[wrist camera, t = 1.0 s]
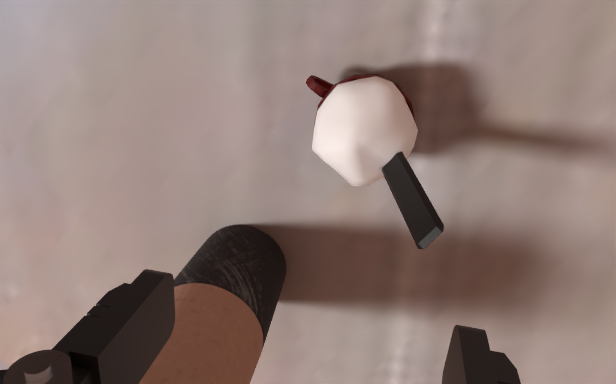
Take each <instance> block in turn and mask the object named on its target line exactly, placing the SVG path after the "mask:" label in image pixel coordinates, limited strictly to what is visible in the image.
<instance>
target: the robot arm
mask: <svg viewBox="0 0 616 384" xmlns="http://www.w3.org/2000/svg"><path fill="white" fill-rule="evenodd" d="M174 324H175V297H174V279H173V275H172V274H171V273H165V272H160V271H154V270H148V269H146V270H144V271H143V272H142V273H141V274H140V275H139V276H138V277H137V278H136V279H135V280H134V281H133V282H132V283H131V284H127V283H124V284H122V285H120V286H118V287H116V288H114V289H113V290H111V291H109V292H107V293H106V294H105V295H104V297H103V298H102V299H101V300H100V301H99V302H98V303H97V304H96V306H94V307H93V308H92V309H91V310H90V311H89V312H88V313H87V316H84V317H83V318H82V319H81V320H80V321H79V322H78V323H77V324H76V325H75V326H74V327H73V328H72V329H71V330H70V331H69V332H68V333H67V334H66V335H65V336H64V337H63V338H62V339H61V340H60V341H59V342H58V343H57V344H56V346H55V347H54V348H53V349H52V350H42V351H37V352H34V353H31V354H28V355H26V356H24V357H22V358H20V359H19V360H17V361H16V362H15V363H13V364H12V365H11V366H10V367H9V369H8V370H0V384H139V382H140V381H141V379H142V378H143V376H144V375H145V373H146V372H147V371H148V369H149V368H150V366H151V365H152V363H153V362H154V360H155V359H156V357H157V356H158V354H159V353H160V351H161V350H162V348H163V347H164V345H165V344H166V342H167V341H168V339H169V338H170V336H171V334H172V331H173V328H174ZM442 384H521V383H520V379H519V376H518V372H517V369H516V368H515V366H514V365H513V364H512V363H511V361H510V360H509V359H508V358H507V356H506V355H505V354H504V353H500V352H495V351H490V348H489V343H488V339H487V335H486V331H485V330H483V329H477V328H472V327H466V326H460V325H455V327H454V330H453V333H452V337H451V342H450V346H449V350H448V354H447V358H446V362H445V366H444V370H443V377H442Z"/></svg>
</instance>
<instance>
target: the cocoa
mask: <svg viewBox="0 0 616 384" xmlns="http://www.w3.org/2000/svg"><path fill="white" fill-rule="evenodd" d="M306 84H307V85H308V87H309V88H310V89H311V90H312V91H314V92H315V93H316V94H318V95H319V96H320V97H322V98H323V99H322V100H321V102H320V103H319V105H318V109H317V114H316V119H315V124H314V135H313V144H312V150H313V151H314V152H315V153H316V154H317V155H318V156H319V157H320V158H321V159H322V160H323V161H325V162H326V163H327V164H328V165H330V166H331V167H332V168H333V169H335V170H336V171H337V172H338V173H339V174H340V175H341V176H342V177H343V178H344V179H345V180H346V181H348V182H349V183H350V184H351V185H352V186H363V185H370V184H372V183H374V182H375V181H377V180H379V179H381V178H383V177H385V179H386V181H387V183H388V185H389V187H390V190H391V192H392V194H393V196H394V198H395V200H396V202H397V205H398V207H399V209H400V211H401V213H402V215H403V217H404V220H405V222H406V224H407V226H408V228H409V230H410V232H411V235H412V237H413V239H414V241H415V243H416V245H417V247H418V249H424V248H425V247H427V246H428V245H429V244H430V243H431V242H432V241H433V240H434V239H435V238H436V237H437V236H438V235H440V234H441V233H442V232H443V230H444V225H443V223H442V221H441V220H440V218H439V216H438V214H437V212H436V211H435V209H434V207H433V205H432V204H431V202H430V200H429V198H428V197H427V195H426V193H425V191H424V190H423V188H422V186H421V184H420V182H419V181H418V179H417V177H416V175H415V174H414V172H413V170H412V168H411V167H410V165H409V163H408V161H407V158H408V156H409V154H410V153H411V151H412V150H413V148H414V145H415V141H416V137H417V133H418V129H417V126H416V124H415V119H414V113H413V108H412V104H411V101H410V100H409V99H408V97H407V96H406V95H405V93H404V92H403V91H402V90H401V88H400V87H399V86H398V85H397V84H396V83H394V82H392V81H390V80H388V79H386V78H383V77H381V76H379V75H377V74H363V75H352V76H350V77H348V78H346V79H344V80H342V81H340V82H338V83H337V84H335V85H333V84H331V83H329V82H327V81H325V80H323V79H321V78H318V77H316V76H313V75H311V76H310V77H309V78H308V79H307V81H306Z"/></svg>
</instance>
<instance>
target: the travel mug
mask: <svg viewBox="0 0 616 384" xmlns="http://www.w3.org/2000/svg"><path fill="white" fill-rule="evenodd" d="M285 274H286V263H285V259H284V255H283V253H282V251H281V249H280V247H279V246H278V245H277V243H276V242H275V241H274V240H273V239H272V238H271V237H270V236H268V235H267V234H265V233H264V232H262V231H260V230H258V229H256V228H253V227H249V226H243V225H234V226H228V227H225V228H222V229H220V230H218V231H216V232H215V233H214V234H212V235H211V236H210V237H209V238H208V239H207V241H206V242H205V243H204V244H203V245H202V246H201V248H200V249H199V250H198V251H197V252H196V254H195V255H194V256H193V257H192V259H191V260H190V261H189V262H188V263H187V265H186V266H185V267H184V268H183V270H182V271H181V272H180V273H179V274H178V276H177V277H176V278H175V279H174V297H175V324H174V328H173V331H172V334H171V336H170V338H169V339H168V341H167V342H166V344H165V345H164V347H163V348H162V350H161V351H160V353H159V354H158V356H157V357H156V359H155V360H154V362H153V363H152V365H151V366H150V368H149V369H148V371H147V372H146V373H145V375H144V376H143V378H142V379H141V381H140V382H139V384H250V381H251V378H252V376H253V373H254V371H255V368H256V365H257V363H258V360H259V357H260V355H261V352H262V349H263V346H264V343H265V340H266V337H267V333H268V330H269V327H270V324H271V321H272V318H273V314H274V311H275V308H276V305H277V302H278V299H279V295H280V292H281V289H282V286H283V282H284V279H285Z"/></svg>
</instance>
